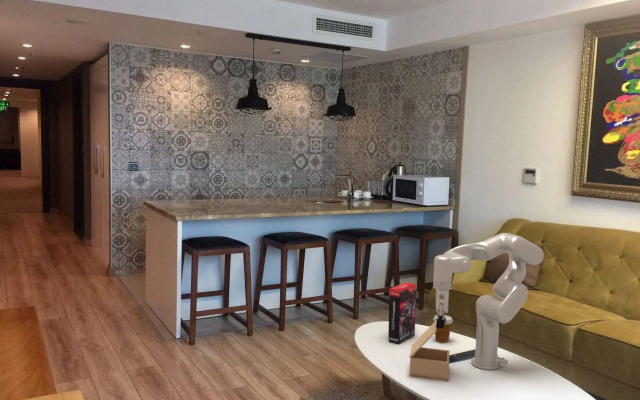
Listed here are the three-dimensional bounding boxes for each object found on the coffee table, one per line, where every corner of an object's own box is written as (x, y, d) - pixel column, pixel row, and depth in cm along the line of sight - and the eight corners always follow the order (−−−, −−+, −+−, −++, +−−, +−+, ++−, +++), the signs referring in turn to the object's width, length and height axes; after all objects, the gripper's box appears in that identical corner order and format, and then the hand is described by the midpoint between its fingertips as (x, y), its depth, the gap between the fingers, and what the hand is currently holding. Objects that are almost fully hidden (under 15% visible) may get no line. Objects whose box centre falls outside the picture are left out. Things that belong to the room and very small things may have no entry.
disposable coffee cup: (428, 340, 275) (429, 317, 274) (438, 335, 282) (439, 313, 281) (445, 345, 269) (446, 322, 268) (455, 340, 276) (456, 317, 274)
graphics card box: (398, 345, 268) (401, 291, 265) (386, 341, 272) (388, 288, 269) (415, 335, 281) (417, 284, 278) (403, 332, 285) (405, 281, 282)
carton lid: (448, 315, 241) (441, 309, 241) (448, 326, 227) (440, 319, 227) (416, 348, 246) (409, 342, 246) (413, 360, 232) (406, 354, 232)
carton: (448, 367, 243) (449, 350, 242) (448, 381, 229) (449, 362, 228) (412, 363, 247) (413, 346, 246) (409, 376, 233) (410, 358, 232)
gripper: (451, 290, 224) (449, 334, 226) (451, 280, 240) (449, 320, 242) (432, 289, 225) (430, 332, 228) (434, 278, 242) (432, 319, 244)
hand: (440, 325), depth 235 cm, fingers closed on carton lid, 4 cm apart
